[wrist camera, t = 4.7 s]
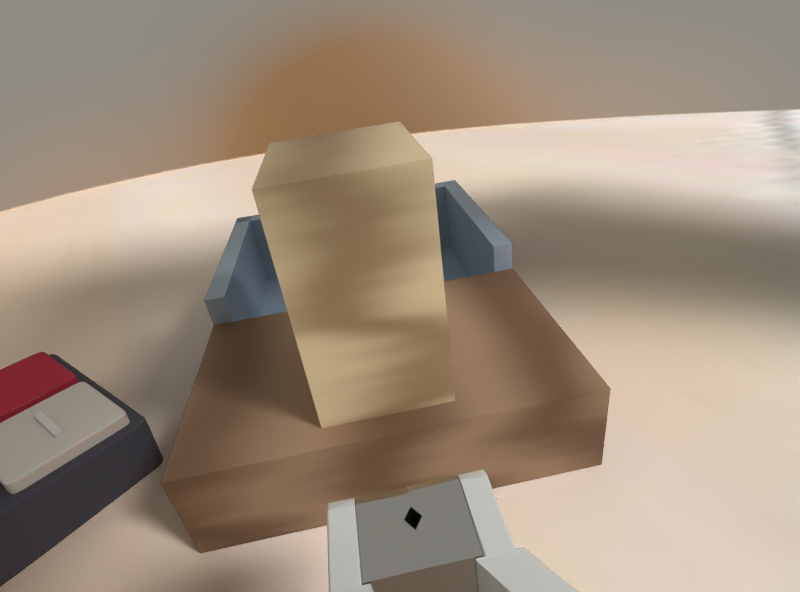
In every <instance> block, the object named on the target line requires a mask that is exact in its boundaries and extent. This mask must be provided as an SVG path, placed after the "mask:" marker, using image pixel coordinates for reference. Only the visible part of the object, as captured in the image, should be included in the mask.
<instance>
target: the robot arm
mask: <svg viewBox="0 0 800 592" xmlns="http://www.w3.org/2000/svg"><path fill="white" fill-rule="evenodd" d="M327 533H328V573H329V592H578V591H577V590H576V589H574V588H573V587H572V586H571V585H570V584H568V583H567V582H566V581H565V580H563V579H562V578H561V577H560V576H558V575H557V574H556V573H555V572H553V571H552V570H551V569H550V568H549V567H547V566H546V565H545V564H544V563H542V562H541V561H540V560H539V559H537V558H536V557H535V556H534V555H533V554H531V553H530V552H529V551H528V550H526V549H525V548H519V549H516V548H515V546H514V543H513V541H512V538H511V535H510V533H509V530H508V528H507V525H506V523H505V520H504V517H503V515H502V512H501V510H500V507H499V505H498V502H497V499H496V497H495V494H494V492H493V489H492V487H491V484H490V481H489V479H488V476H487V474H486V473H485V472H484V470H478V471H473V472H469V473H465V474H460V475H458V476H457V475H453V476H448V477H444V478H440V479H436V480H431V481H427V482H423V483H419V484H415V485H410V486H407V488H402V489H397V490H392V491H386V492H381V493H376V494H371V495H366V496H360V497H356V498H350V499H346V500H341V501H336V502H332V503H329V504H328V509H327Z"/></svg>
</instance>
